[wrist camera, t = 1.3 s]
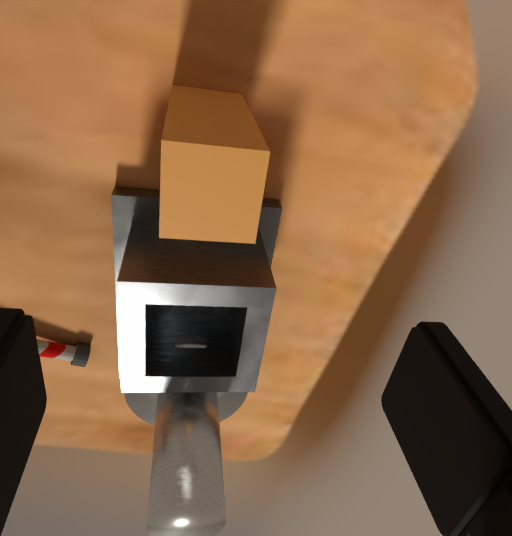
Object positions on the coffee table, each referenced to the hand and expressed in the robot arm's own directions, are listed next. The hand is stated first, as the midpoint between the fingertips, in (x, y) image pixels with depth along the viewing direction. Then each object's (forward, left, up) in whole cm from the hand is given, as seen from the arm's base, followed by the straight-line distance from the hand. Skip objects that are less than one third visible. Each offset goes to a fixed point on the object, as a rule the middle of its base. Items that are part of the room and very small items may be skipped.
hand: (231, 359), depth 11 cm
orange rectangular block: (0, 0, -22) cm, 22 cm away
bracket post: (+16, 0, -22) cm, 27 cm away
